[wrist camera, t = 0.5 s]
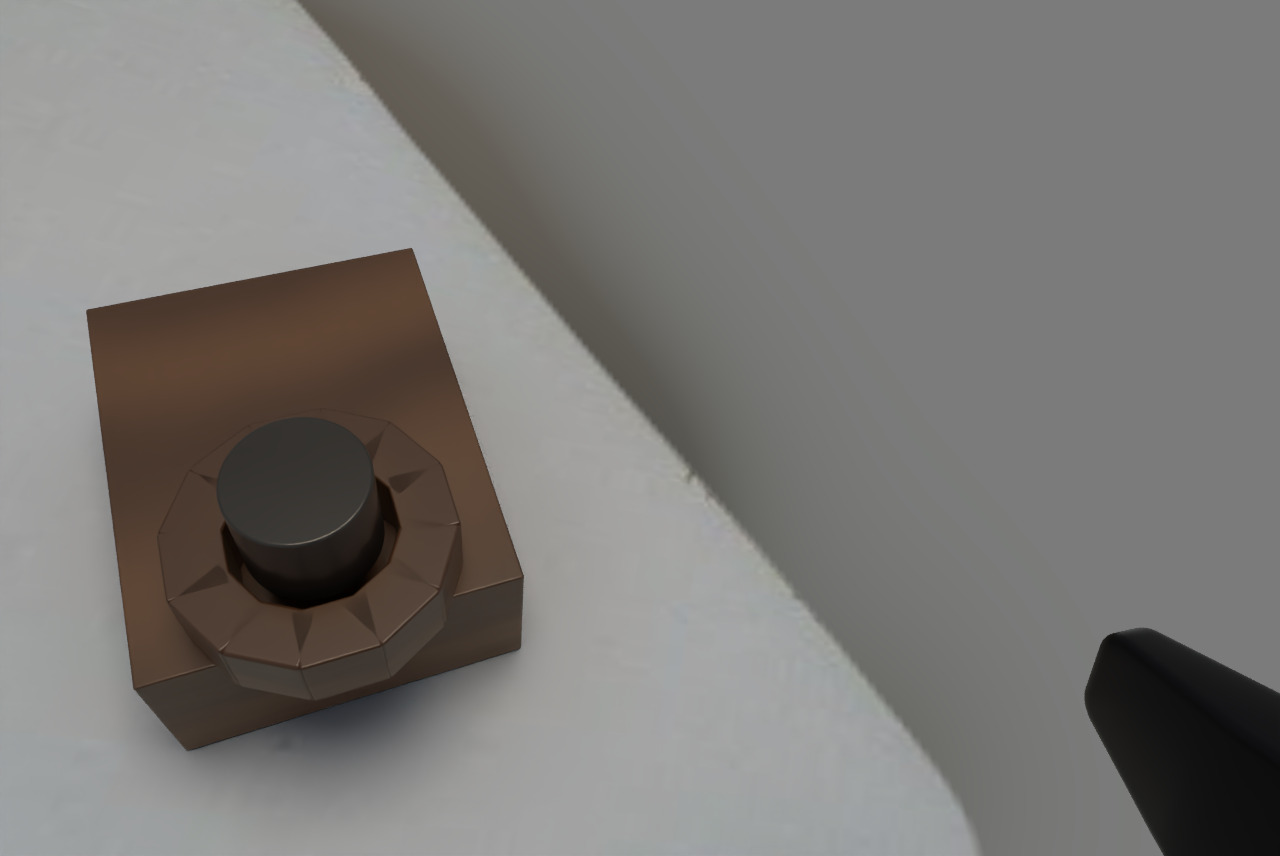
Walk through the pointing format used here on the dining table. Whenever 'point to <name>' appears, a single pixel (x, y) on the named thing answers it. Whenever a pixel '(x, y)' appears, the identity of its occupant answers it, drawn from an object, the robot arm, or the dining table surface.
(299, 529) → the bell button
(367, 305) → the brown push button box
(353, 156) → the dining table surface
